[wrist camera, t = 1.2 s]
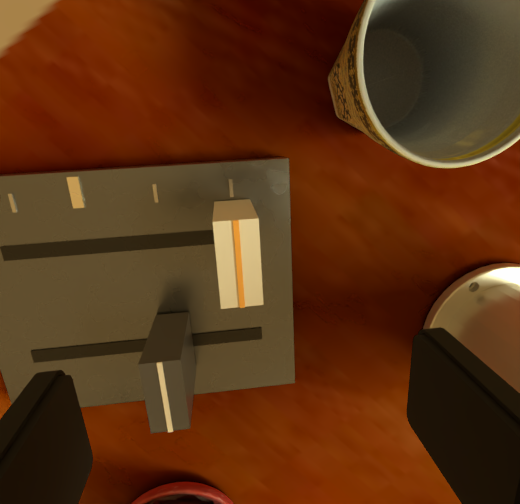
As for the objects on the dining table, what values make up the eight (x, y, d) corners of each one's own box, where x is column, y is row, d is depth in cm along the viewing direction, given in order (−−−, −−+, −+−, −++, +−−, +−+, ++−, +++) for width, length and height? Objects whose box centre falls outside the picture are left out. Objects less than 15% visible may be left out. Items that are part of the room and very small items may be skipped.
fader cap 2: (249, 199, 24) (259, 218, 19) (254, 267, 26) (263, 305, 20) (214, 201, 24) (212, 222, 18) (220, 270, 26) (220, 309, 20)
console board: (283, 156, 26) (289, 158, 24) (290, 368, 32) (295, 384, 30) (-41, 176, 24) (-64, 180, 22) (28, 397, 30) (14, 416, 28)
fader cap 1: (188, 311, 27) (180, 360, 21) (196, 369, 28) (190, 429, 22) (155, 315, 26) (137, 365, 21) (165, 372, 28) (150, 434, 22)
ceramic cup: (325, 175, 27) (382, 197, 17) (286, 27, 23) (330, -45, 14) (490, 117, 27) (639, 108, 17) (474, -38, 23) (646, -156, 14)
